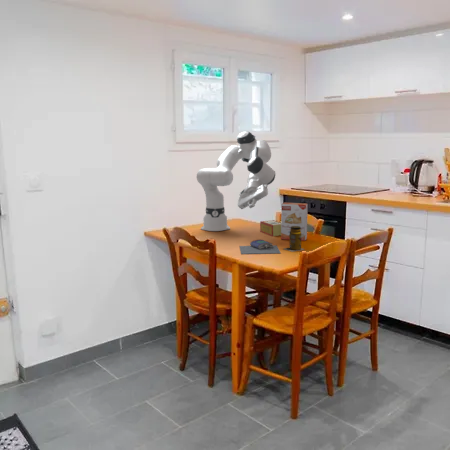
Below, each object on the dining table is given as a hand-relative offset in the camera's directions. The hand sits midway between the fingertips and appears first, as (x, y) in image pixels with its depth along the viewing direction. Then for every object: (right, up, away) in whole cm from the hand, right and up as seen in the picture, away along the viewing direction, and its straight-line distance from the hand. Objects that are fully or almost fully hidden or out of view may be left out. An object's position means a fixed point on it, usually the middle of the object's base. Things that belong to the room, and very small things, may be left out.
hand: (251, 206), depth 268 cm
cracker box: (+24, -19, +3) cm, 31 cm away
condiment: (+21, -23, -20) cm, 37 cm away
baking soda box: (+11, -11, +28) cm, 32 cm away
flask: (+2, -20, -11) cm, 23 cm away
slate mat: (+3, -23, -21) cm, 31 cm away
